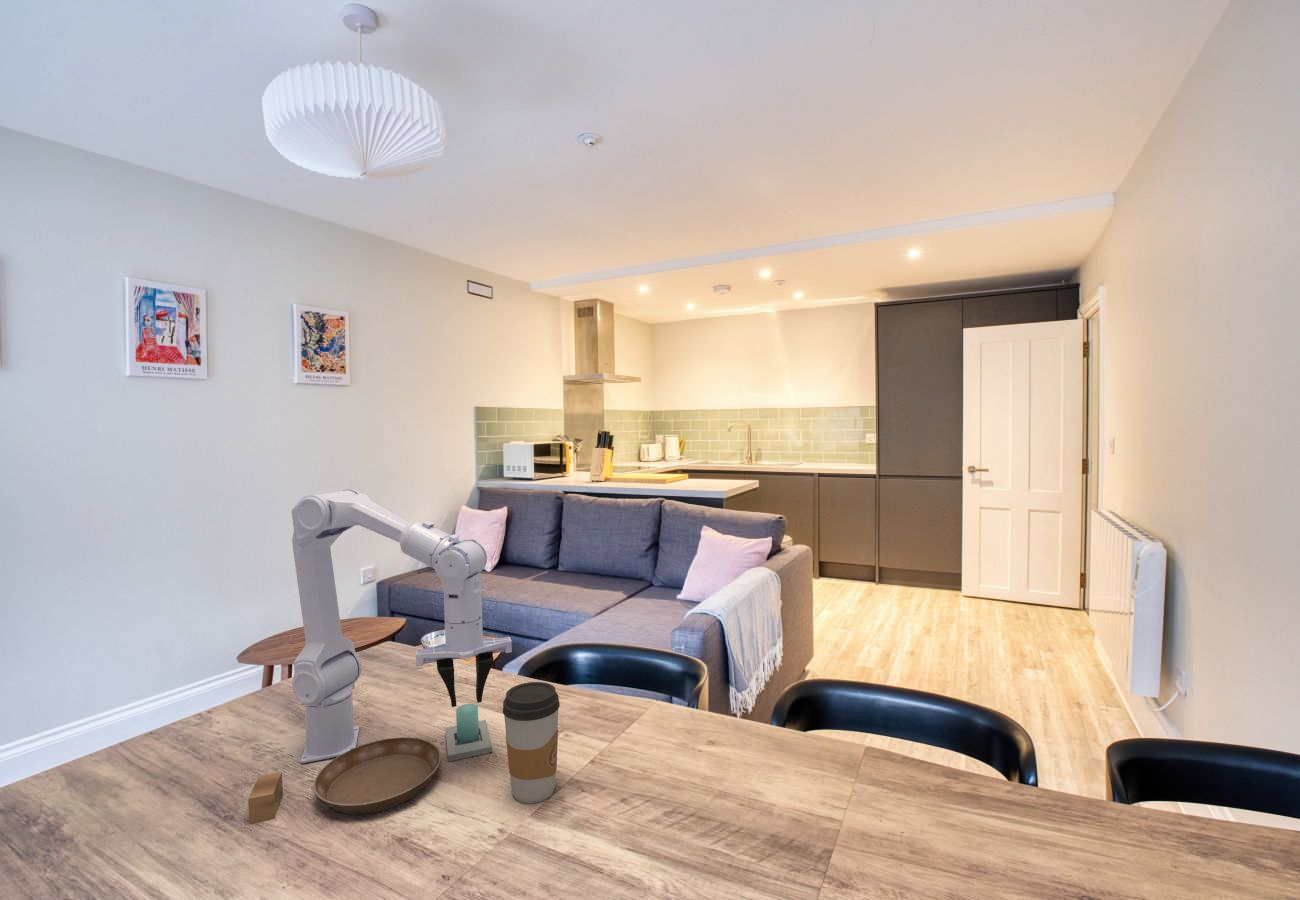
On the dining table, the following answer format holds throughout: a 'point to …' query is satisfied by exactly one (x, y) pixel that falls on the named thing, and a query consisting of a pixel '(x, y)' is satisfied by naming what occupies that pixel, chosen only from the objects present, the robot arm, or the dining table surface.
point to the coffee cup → (532, 739)
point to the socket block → (468, 748)
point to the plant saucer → (377, 775)
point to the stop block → (265, 797)
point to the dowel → (467, 724)
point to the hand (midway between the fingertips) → (466, 702)
